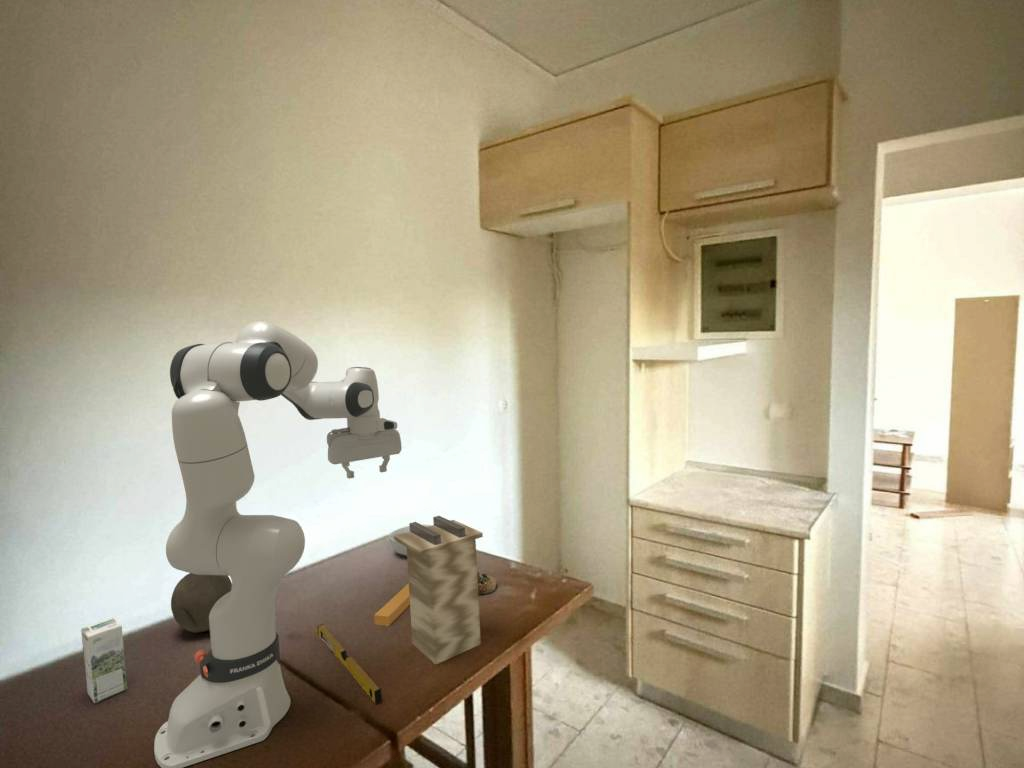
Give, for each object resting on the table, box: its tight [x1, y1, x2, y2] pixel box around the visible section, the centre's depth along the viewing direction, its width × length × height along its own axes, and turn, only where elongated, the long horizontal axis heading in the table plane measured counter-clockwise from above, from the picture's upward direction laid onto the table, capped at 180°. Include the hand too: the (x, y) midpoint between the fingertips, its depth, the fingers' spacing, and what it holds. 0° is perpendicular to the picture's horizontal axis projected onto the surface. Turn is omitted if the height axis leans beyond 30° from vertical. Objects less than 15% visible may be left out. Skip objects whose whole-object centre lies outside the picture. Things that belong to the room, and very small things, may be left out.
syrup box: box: [80, 617, 128, 704], centre depth 109 cm, size 6×6×14 cm
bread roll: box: [477, 571, 497, 596], centre depth 151 cm, size 11×11×5 cm
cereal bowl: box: [388, 524, 432, 557], centre depth 180 cm, size 17×17×7 cm
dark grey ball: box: [170, 573, 232, 634], centre depth 134 cm, size 14×14×15 cm
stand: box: [394, 515, 484, 666], centre depth 122 cm, size 16×13×28 cm
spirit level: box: [317, 623, 383, 705], centre depth 116 cm, size 33×1×3 cm, turn 39°
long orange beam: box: [373, 582, 410, 627], centre depth 141 cm, size 4×20×3 cm, turn 164°
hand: (367, 474), depth 146 cm, fingers open, 8 cm apart
